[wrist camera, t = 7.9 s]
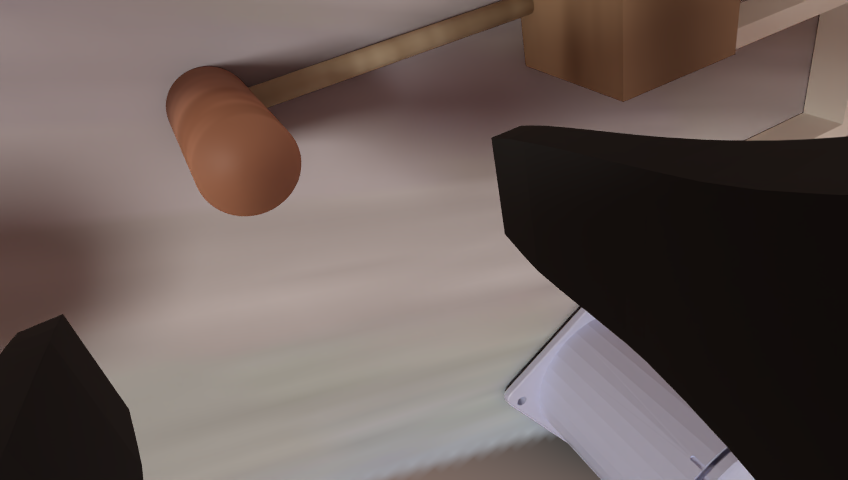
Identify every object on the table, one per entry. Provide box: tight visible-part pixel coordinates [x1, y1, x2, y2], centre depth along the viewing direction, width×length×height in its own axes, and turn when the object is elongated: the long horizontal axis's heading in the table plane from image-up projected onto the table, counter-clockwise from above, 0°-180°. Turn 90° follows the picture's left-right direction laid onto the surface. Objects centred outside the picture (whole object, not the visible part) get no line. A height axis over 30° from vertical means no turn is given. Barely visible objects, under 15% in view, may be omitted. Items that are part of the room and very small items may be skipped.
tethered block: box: [166, 0, 740, 216], centre depth 18 cm, size 16×4×5 cm, turn 104°
